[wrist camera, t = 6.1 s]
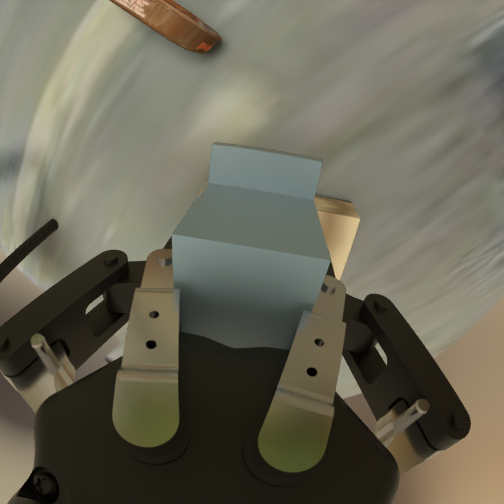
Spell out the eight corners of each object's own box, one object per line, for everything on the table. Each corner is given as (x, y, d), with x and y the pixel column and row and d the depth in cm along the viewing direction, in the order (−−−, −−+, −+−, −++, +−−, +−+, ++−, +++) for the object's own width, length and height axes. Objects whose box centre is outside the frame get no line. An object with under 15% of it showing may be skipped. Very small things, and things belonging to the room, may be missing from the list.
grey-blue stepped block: (310, 143, 13) (348, 206, 6) (277, 286, 17) (273, 399, 11) (230, 130, 13) (172, 176, 6) (215, 275, 17) (182, 384, 11)
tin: (230, 43, 21) (211, 25, 14) (208, 63, 23) (181, 53, 16) (141, -19, 16) (103, -40, 9) (123, 0, 18) (81, -15, 11)
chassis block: (350, 201, 29) (360, 218, 26) (310, 324, 40) (311, 347, 37) (209, 179, 30) (198, 193, 26) (205, 309, 41) (198, 331, 37)
